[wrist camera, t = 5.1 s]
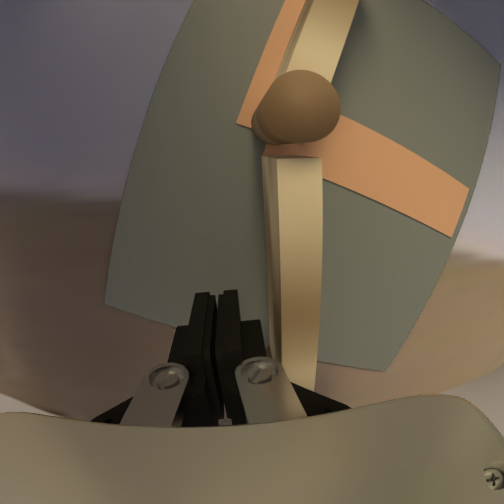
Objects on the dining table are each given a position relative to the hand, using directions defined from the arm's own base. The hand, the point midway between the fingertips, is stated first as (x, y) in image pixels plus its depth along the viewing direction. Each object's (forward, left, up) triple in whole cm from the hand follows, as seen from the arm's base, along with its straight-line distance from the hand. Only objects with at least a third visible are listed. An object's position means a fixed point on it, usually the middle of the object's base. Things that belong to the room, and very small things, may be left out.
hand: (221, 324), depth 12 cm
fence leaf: (-2, +2, -1) cm, 3 cm away
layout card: (-8, +3, -2) cm, 9 cm away
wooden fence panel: (-12, 0, -2) cm, 13 cm away
